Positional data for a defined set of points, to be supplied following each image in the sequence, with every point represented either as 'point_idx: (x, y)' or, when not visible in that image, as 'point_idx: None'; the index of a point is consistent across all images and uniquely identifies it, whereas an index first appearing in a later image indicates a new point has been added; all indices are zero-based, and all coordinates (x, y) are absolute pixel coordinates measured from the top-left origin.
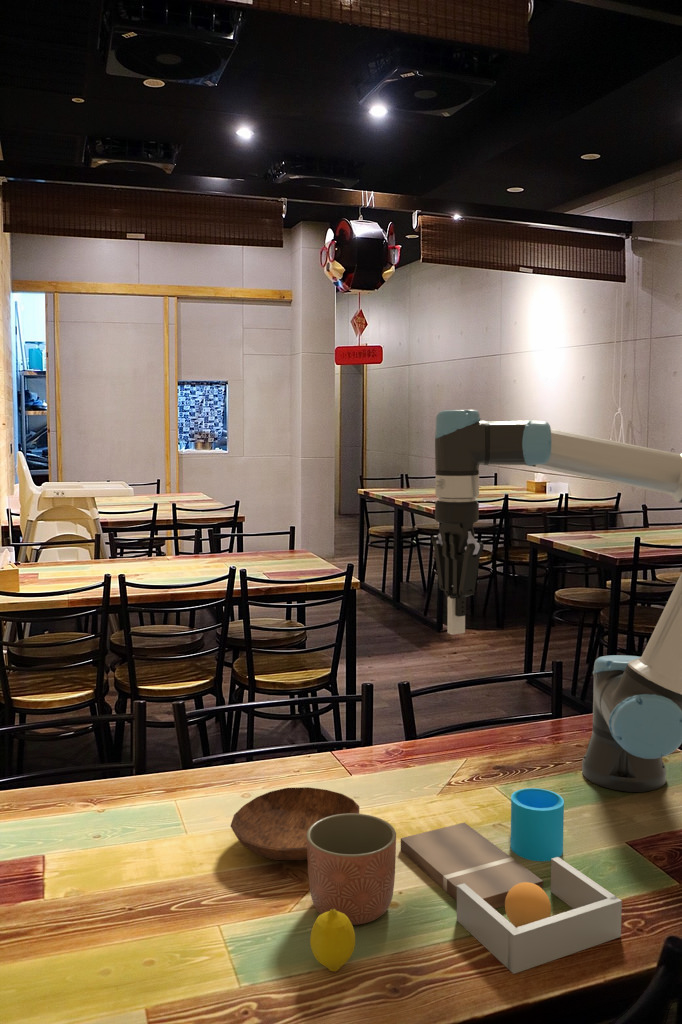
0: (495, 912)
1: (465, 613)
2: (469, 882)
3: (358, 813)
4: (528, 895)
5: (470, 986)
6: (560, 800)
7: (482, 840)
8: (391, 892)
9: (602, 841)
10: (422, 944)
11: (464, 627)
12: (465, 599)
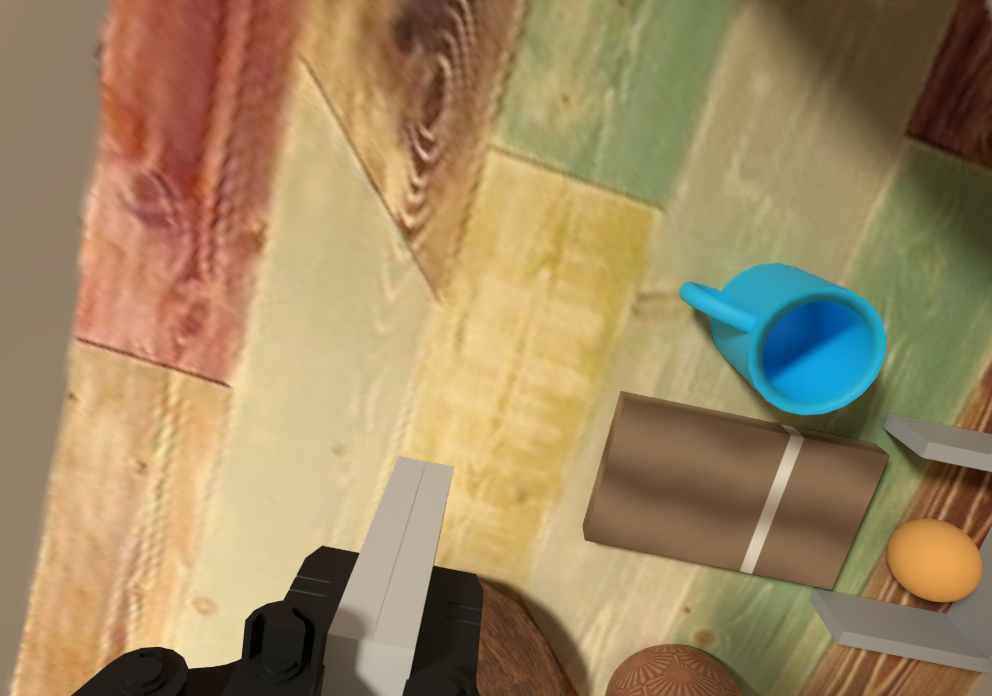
0: (938, 653)
1: (482, 591)
2: (789, 554)
3: (505, 600)
4: (966, 595)
5: (920, 682)
6: (867, 314)
7: (705, 429)
8: (741, 693)
9: (861, 175)
10: (809, 669)
11: (447, 489)
12: (475, 687)
